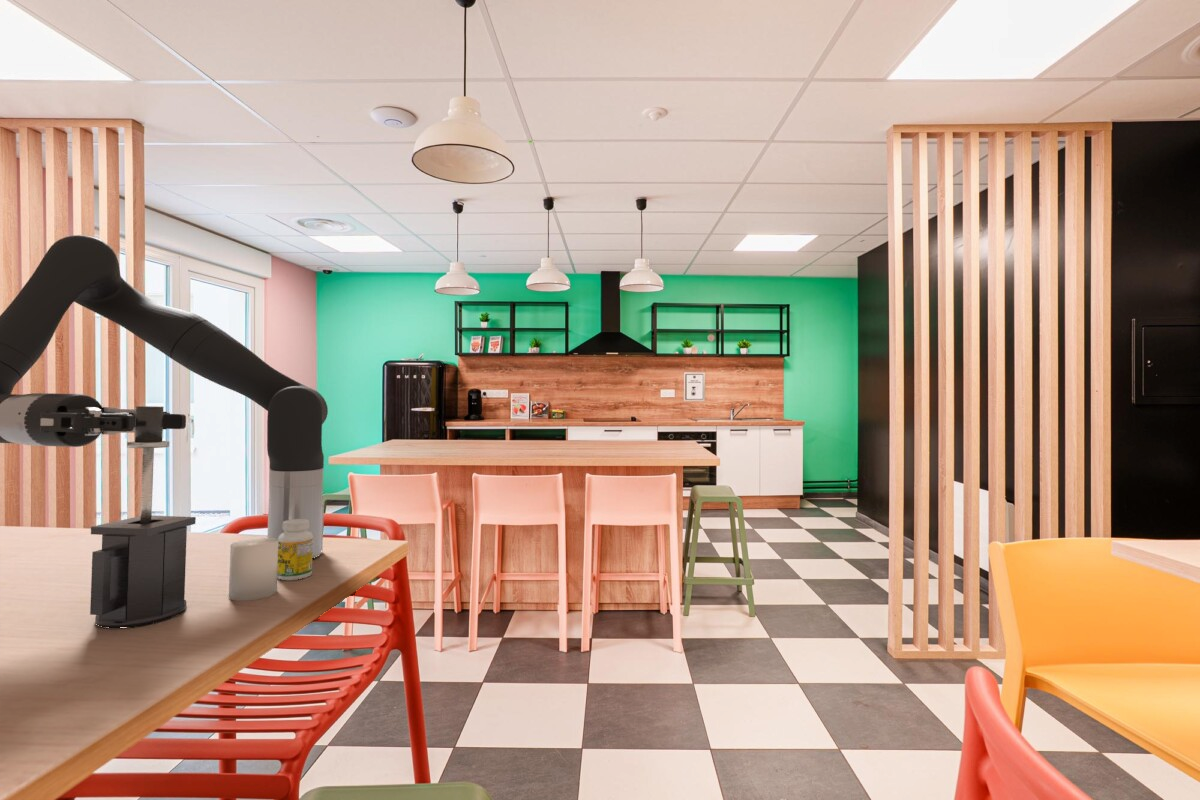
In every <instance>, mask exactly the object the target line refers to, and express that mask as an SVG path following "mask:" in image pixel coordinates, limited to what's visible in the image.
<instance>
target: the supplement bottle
mask: <svg viewBox="0 0 1200 800" xmlns="http://www.w3.org/2000/svg"><path fill="white" fill-rule="evenodd" d="M308 528H309V520H307V519H292V520H287V521H284V522H283V526H282V529H283V530H284V533H282V534H281V535H280V536H279V537H278V570H277V580H278V579H279V580H280V579H281V580H280V581H297V580H298V579H299V580H303V579H306V578H308V576H309V577H310V576H311V575H312V573H313V559H312V556H313V535H312V533H311V532H309V531H307V529H308ZM302 578H303V579H302Z"/></svg>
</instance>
